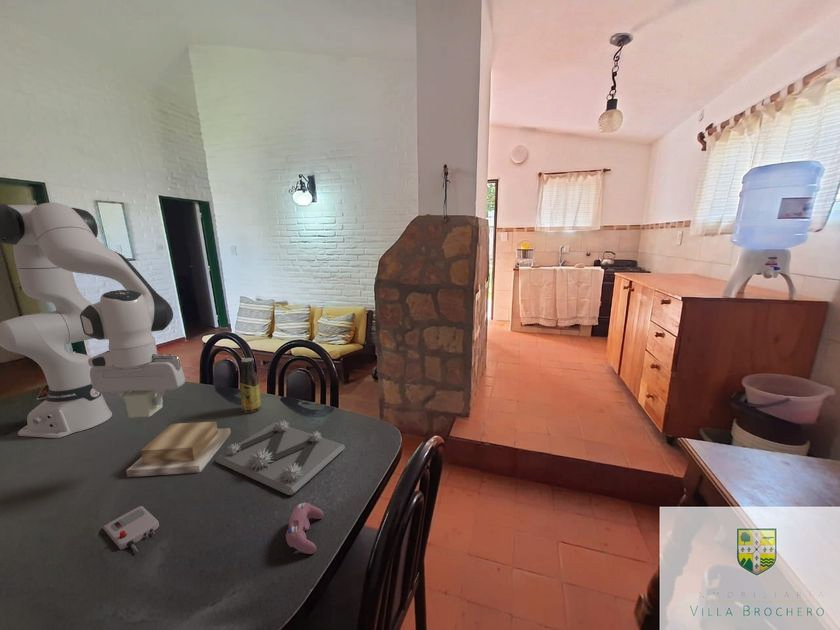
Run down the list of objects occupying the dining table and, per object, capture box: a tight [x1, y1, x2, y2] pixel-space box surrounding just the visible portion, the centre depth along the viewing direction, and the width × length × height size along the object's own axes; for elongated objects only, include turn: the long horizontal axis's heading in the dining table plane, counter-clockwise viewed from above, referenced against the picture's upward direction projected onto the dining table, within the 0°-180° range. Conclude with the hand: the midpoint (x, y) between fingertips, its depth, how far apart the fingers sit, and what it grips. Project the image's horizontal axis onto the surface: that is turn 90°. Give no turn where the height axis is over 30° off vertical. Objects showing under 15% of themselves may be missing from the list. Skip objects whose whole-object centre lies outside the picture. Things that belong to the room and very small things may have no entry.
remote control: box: [102, 505, 160, 553], centre depth 70 cm, size 7×16×3 cm, turn 59°
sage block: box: [124, 390, 163, 418], centre depth 85 cm, size 5×5×6 cm
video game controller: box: [285, 502, 325, 555], centre depth 68 cm, size 10×5×7 cm, turn 6°
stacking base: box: [125, 421, 231, 478], centre depth 94 cm, size 18×18×6 cm
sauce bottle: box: [239, 357, 262, 414], centre depth 117 cm, size 6×6×20 cm
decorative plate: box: [215, 419, 346, 496], centre depth 94 cm, size 30×22×7 cm
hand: (144, 404), depth 85 cm, fingers closed on sage block, 5 cm apart
